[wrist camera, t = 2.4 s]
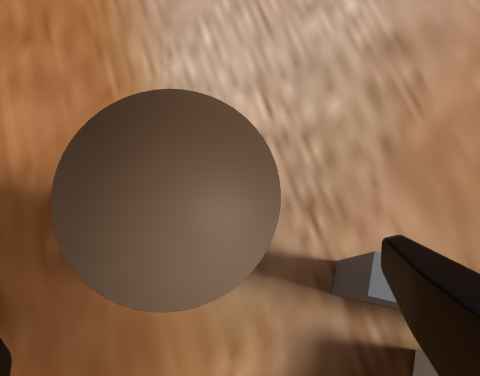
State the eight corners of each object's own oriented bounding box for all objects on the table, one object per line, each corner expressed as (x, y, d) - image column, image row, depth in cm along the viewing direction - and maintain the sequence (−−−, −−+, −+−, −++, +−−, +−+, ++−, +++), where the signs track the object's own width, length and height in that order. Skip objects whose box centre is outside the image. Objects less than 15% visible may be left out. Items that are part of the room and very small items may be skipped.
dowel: (237, 306, 18) (252, 337, 7) (150, 285, 18) (16, 280, 7) (256, 220, 19) (300, 116, 8) (174, 200, 19) (92, 68, 8)
